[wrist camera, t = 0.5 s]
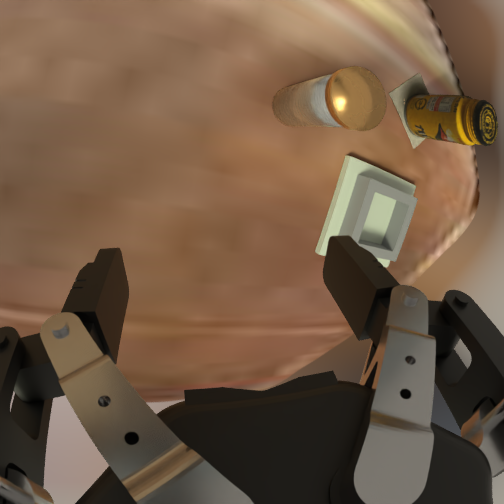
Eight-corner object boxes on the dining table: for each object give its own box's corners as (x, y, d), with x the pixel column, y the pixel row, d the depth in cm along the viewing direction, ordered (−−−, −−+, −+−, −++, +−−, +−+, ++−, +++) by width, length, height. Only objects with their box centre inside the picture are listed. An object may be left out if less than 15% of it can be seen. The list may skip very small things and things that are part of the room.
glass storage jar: (277, 78, 27) (341, 55, 17) (317, 94, 29) (391, 84, 18) (265, 120, 29) (324, 115, 18) (305, 134, 30) (377, 140, 20)
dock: (345, 155, 32) (363, 158, 29) (411, 184, 37) (429, 190, 34) (315, 251, 36) (329, 262, 33) (383, 264, 40) (398, 274, 37)
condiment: (413, 148, 35) (484, 164, 24) (387, 93, 31) (463, 92, 20) (439, 124, 35) (506, 135, 24) (417, 72, 31) (488, 70, 20)
